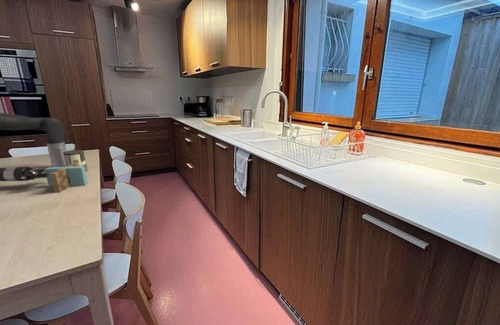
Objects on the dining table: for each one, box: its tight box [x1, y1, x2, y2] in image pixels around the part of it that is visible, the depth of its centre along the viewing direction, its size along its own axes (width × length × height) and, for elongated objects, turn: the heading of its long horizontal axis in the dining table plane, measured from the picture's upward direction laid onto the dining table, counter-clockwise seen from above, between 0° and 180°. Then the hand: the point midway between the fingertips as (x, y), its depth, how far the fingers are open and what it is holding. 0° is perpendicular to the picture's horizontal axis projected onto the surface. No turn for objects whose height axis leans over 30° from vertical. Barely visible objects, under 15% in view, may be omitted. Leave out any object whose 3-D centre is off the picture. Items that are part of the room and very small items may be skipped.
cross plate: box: [45, 166, 89, 188], centre depth 128 cm, size 3×18×10 cm, turn 96°
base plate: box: [50, 162, 79, 193], centre depth 128 cm, size 20×2×10 cm, turn 6°
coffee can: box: [63, 149, 88, 174], centre depth 147 cm, size 10×10×14 cm
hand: (52, 172), depth 127 cm, fingers open, 8 cm apart
